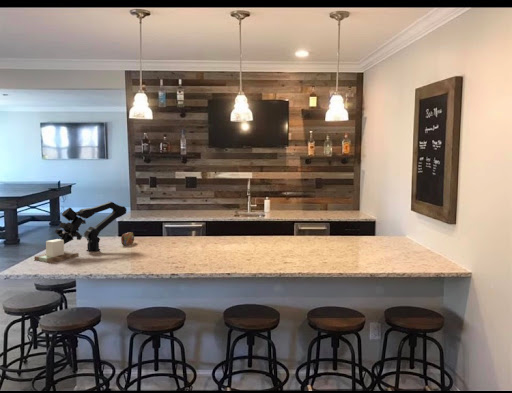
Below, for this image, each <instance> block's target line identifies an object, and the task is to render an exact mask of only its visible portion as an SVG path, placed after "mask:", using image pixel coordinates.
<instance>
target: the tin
mask: <svg viewBox="0 0 512 393" xmlns="http://www.w3.org/2000/svg"><path fill="white" fill-rule="evenodd" d="M120 241H121V245H122V246H124V247H125V246H126V247H128V246H130V245H132V244H133V243H134V241H135V234H134V232H132V231H129V232H125V233H123V234H122V235H121V237H120Z"/></svg>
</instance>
